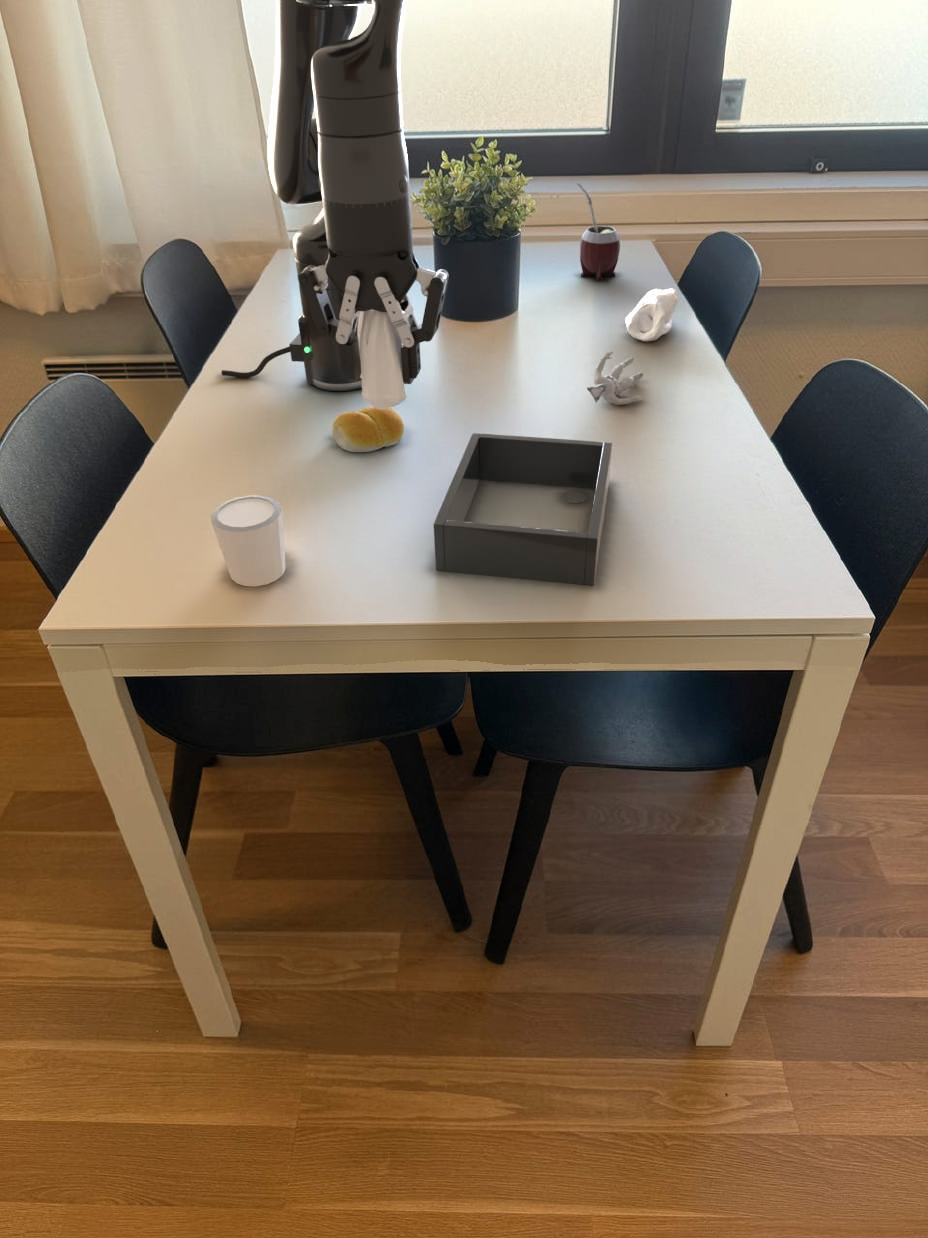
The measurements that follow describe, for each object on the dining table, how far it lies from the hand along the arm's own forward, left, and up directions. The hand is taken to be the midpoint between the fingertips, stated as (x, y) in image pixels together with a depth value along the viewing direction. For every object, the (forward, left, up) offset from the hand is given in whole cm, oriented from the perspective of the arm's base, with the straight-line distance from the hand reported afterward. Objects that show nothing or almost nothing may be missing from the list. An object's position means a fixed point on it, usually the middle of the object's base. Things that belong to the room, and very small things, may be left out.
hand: (381, 378), depth 86 cm
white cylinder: (-12, -10, -17) cm, 23 cm away
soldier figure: (+21, +38, -17) cm, 47 cm away
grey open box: (+14, +3, -17) cm, 22 cm away
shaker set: (-1, +3, -3) cm, 4 cm away
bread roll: (-9, +20, -17) cm, 28 cm away
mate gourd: (+14, +90, -17) cm, 93 cm away
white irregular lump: (+25, +63, -17) cm, 70 cm away
